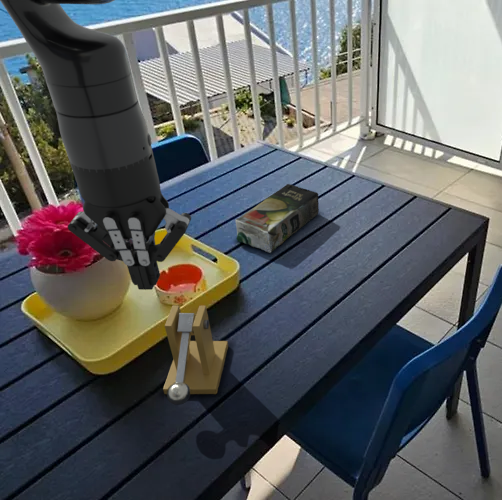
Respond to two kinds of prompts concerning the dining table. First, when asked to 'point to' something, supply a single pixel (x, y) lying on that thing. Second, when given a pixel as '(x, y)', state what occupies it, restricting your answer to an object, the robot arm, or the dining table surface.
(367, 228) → the dining table surface
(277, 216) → the juice carton
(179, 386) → the tap lever
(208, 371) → the bracket
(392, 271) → the dining table surface
